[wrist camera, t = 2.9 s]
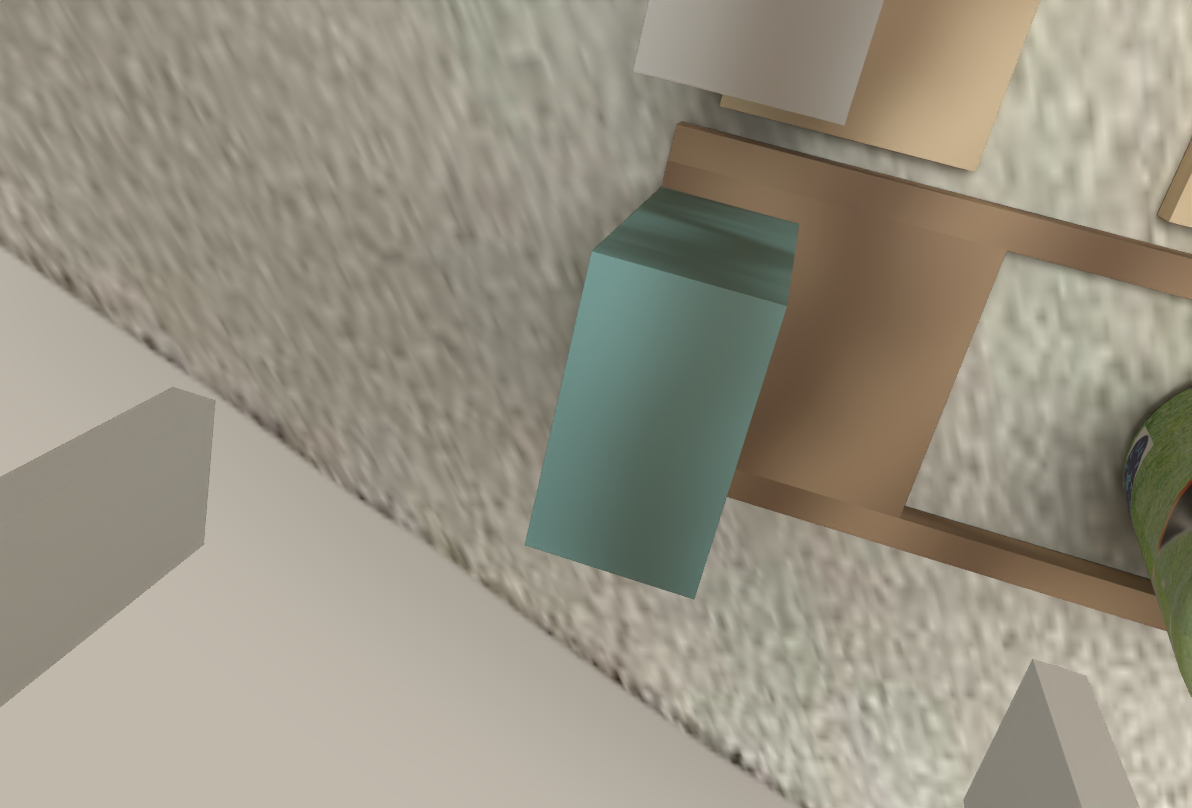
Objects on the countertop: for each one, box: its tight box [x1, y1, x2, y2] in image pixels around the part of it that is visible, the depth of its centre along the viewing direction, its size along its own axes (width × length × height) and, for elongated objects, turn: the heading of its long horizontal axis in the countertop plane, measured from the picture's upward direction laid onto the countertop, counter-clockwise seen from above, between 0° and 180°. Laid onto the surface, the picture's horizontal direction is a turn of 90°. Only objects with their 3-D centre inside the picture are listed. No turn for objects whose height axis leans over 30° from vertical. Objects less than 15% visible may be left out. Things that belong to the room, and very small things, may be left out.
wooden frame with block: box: [525, 122, 1192, 631], centre depth 24 cm, size 22×10×10 cm, turn 77°
